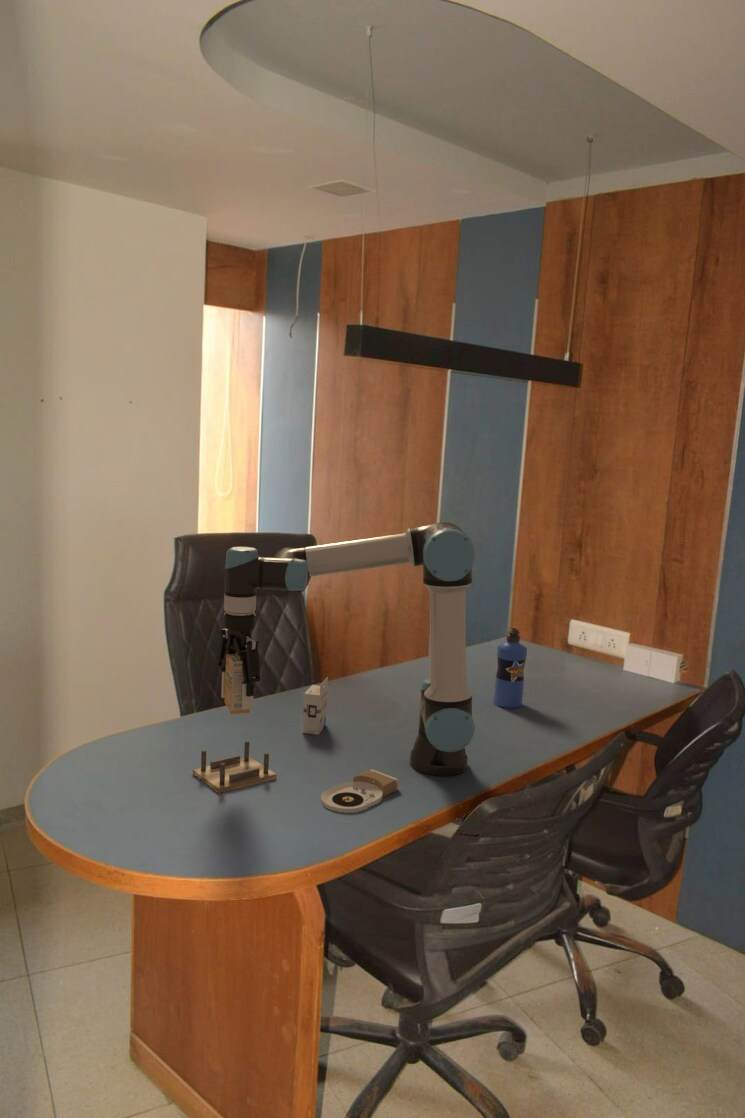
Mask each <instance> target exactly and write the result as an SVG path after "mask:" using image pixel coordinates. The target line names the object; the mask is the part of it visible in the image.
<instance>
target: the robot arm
mask: <svg viewBox="0 0 745 1118" xmlns="http://www.w3.org/2000/svg"><path fill="white" fill-rule="evenodd" d="M258 553H259V552H258V549H257V548H255V547H251V546H250V547H249V546H233V547H230V548H228V550H227V551H226V554H225V565H224V595H223V597H224V599H223V610H224V611H225V612H224V613H223V628H222V629H220V641H219V649H218V654H217V659H216V660H217V661H216V666H217V667H220V671H221V697H220V698H222V699H225V670H226V654H232V653H237V655H238V656H239V657H240V661H242V671H243V675H244V680H245V681H243V682H242V709H243V710H244V709H249V708H250V709H253V708H254V695H255V684H256V683H257V682H259V683H260V682H261V675H260V674H261V673H260V671H261V670H260V660H259V650H258V649H259V640H258V639H253V638H252V635H251V634H252V633H251V631H253V630H254V629H255V628H256V620H257V619H256V618H257V617H256V616H257V615H256V613H255V611H257V609H256V608H257V607H256V606H257V603H256V601H257V589H260V590H275V591H276V590H277V591H290V592H294V591H295V592H296V591H300V592H301V591H305V590H306V589H307V586H308V579H309V578H310V577H317V576H324V575H326V576H327V575H332V574H338V573H346V572H352V571H353V572H354V571H360V570H367V569H368V570H369V569H374V568H375V569H376V568H383V567H389V566H390V567H391V566H396V565H405V564H409V565H410V566H412V567H419V566H422V583H423V585H424V586H425V588H427V589H428V591H429V662H430V663H429V667H430V668H429V677H430V678H426V679H424V680H423V681H422V682H421V687H420V703H419V717H418V732H417V733H418V734H417V736H416V739H415V741H414V743H413V748H412V749H411V751H410V755H409V765H410V766H411V767H412V768H413V769H415V770H416V771H418V772H421V773H423V774H429V775H432V776H433V775H434V776H442V777H443V776H444V777H445V776H455V775H460V774H461V773H464V772H465V771H467V769H468V761H469V760H468V755H467V754H466V747H467V746H469V744H470V743H471V742H472V740H473V739H474V735H475V729H476V725H475V722H474V721H475V720H474V719H473V692H472V691H471V690H470V689H469V688H468V686H467V684H466V679H467V678H466V677H467V676H466V675H467V672H466V668H467V662H466V659H467V657H466V653H467V652H466V651H467V650H466V649H467V646H466V642H467V641H466V640H467V639H466V638H467V637H466V635H467V633H466V631H467V630H466V629H467V628H466V625H467V624H466V622H467V621H466V619H467V618H466V617H467V616H466V614H467V613H466V610H467V609H466V606H467V605H466V604H467V603H466V602H467V601H466V597H467V596H466V591H467V590H468V589H469V588H470V586H471V585H472V583H473V566H474V563H475V557H476V554H475V547H474V544H473V542H472V540H471V538H470V537H469V536H468V535H467V534H466V533H465V531H463V530H462V529H461V528H460V527H459V526H457V525H456V524H453V523H451V522H446V521H445V522H435V523H431V524H426V525H421V526H417V527H412V528H411V527H410V528H407V529H406V531H405V532H403V533H398V534H392V535H383V536H376V537H370V538H368V537H367V538H361V539H356V540H349V541H347V540H346V541H341V542H340V541H339V542H335V543H327V544H321V545H320V544H319V545H313V546H306V547H299V548H292V547H284V548H282V549H280V550H279V551H277V552H276V554H275V555H274V557H265V556H263V557H262V556H260V555H259V554H258ZM248 677H249V678H248Z"/></svg>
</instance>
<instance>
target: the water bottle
mask: <svg viewBox="0 0 745 1118" xmlns="http://www.w3.org/2000/svg"><path fill="white" fill-rule="evenodd" d="M507 633H508V634H506V637H505V639H506V641H505V642H502V643H499V644H497V648H496V649H497V652H496V653H497V654H496V656H497V670H496V674H495V680H494V681H495V682H494V693H493V694H494V695H493V705H495V706H496V705H497V706H496V707H498V706H499V707H498V708H501V707H503V708H502V709H507V708H510V709H509V710H513V709H514V708H516V709H519V708H522V706H523V696H524V684H525V678H524V677H525V676H524V675H525V674H524V669H525V664H526V659H527V656H528V647H526V646H525V645H524V644H521V642H520V641H521V635H519V634H520V633H521V632H520V630H518V629H517V628H514V627H511V628H510V629H509V630H508V631H507ZM512 708H513V709H512ZM514 710H515V709H514Z"/></svg>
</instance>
